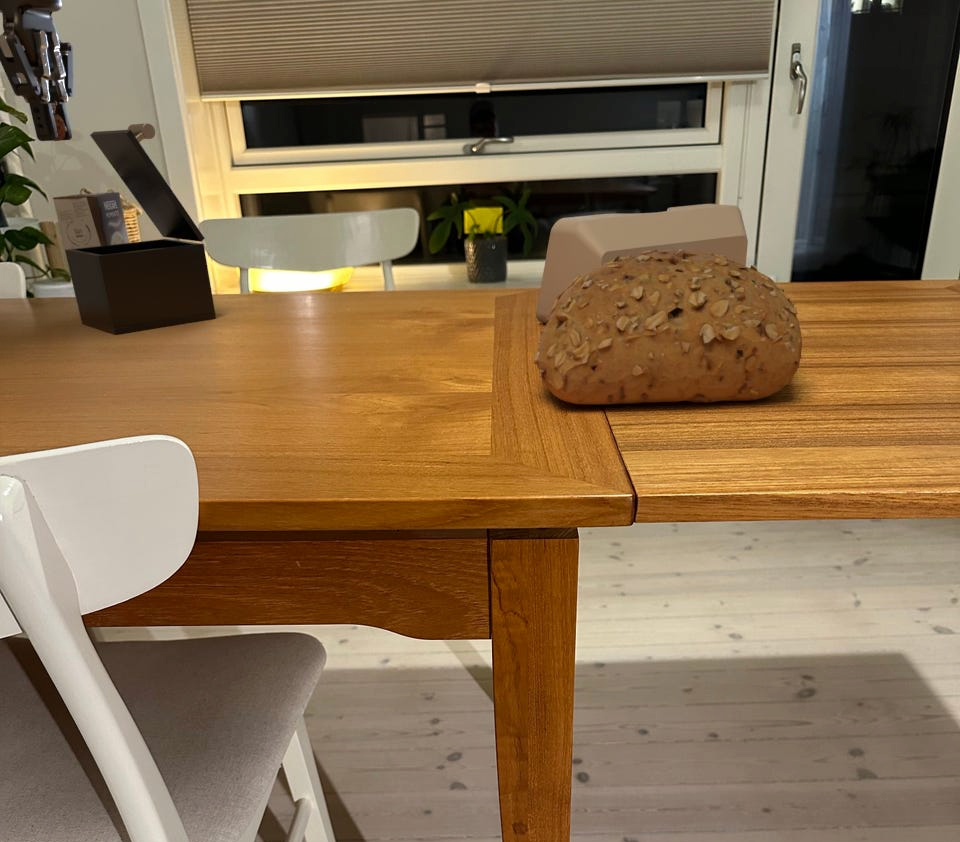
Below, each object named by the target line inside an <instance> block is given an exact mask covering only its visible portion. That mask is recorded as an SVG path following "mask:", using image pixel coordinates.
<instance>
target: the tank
mask: <svg viewBox="0 0 960 842" xmlns="http://www.w3.org/2000/svg"><path fill="white" fill-rule="evenodd" d="M748 240H749V239H748V235H747V231H746V227H745V222H744V219H743V214H742V211H741V209H740V208H739V206H738V205H733V204H719V203H702V204H692V205H682V206H672V207H668V208H667V210H665V211H658V212H644V213H601V214H591V215H580V216H571V217H570V216H569V217H562V218H560V219H558V220H557V221H556V222H554V224H553V226H552V227H551V230H550V234H549V239H548V245H547V250H546V251H547V252H546V255H545V261H544V266H543V272H542V278H541V282H540V288H539V293H538V299H537V305H536V310H535V318H536V320H537V321H538V322H540V323H542V324H546V321H547V318H548V316H549V314H550V312H551V309H552V306H553V303H554V302H555V301H556V300H558V299H557V296H558V295H559V294H560V293H561V292H562V291H563V290H565V289H566V288H567V287H568V286H569V285H570V284H571V283H572V281H573V280H574V279H575V278H576V277H577V276H578V275H580V276H584V275H585V274H586V273H588V272H589V271H591V270H593V269H595V268H596V267H598V266H600V265H603V264H606V263H609V262H610V261H612V260H613V259H615V258H616V257H618V256H619V255H620V256H619V259H620V257H627V256H629V255H632V256H631V257H634V256H639V255H640V254H641V253H642V252H645V251H650V250H657V251H660V250H673V249H675V250H677V249H682V250H685V249H689V250H697V251H701V252H705V253H708V254H712V253H713V252H714V253H716V254H718V255H720V256H721V255H722V256H725V257H727V259H728V260H734V262H736V263H740V264H742V265H743V266H746V267H747V257H748V256H747V255H748V247H749V246H748V244H749V241H748ZM619 259H618V260H619Z"/></svg>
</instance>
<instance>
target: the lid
mask: <svg viewBox="0 0 960 842" xmlns="http://www.w3.org/2000/svg"><path fill="white" fill-rule="evenodd" d="M89 136H90V137H91V139H92V140H93V142H94V143H95V144H96V146H97V148H98V149H99V150H100V152H101V153H102V154H103V156H104V157H105V158H106V160H107V161H108V162H109V164H110V165H111V166H112V168H113V170H114V171H115V172H116V173H117V175H118V176H119V178H120V179H121V180H122V182H123V184H125V186H126V188H127V189H128V191H129V192H130V193H131V195H132V196H133V198H135V200H136V202H137V203H138V204H139V205H140V207H141V208H142V210H143V211H144V213H145V214H146V215H147V217H148V218H149V219H150V221H151V223H153V225H154V227H155V228H156V229H157V230H158V232H159V233H160V235H161V236H162V237H163V238H167V239H175V240H183V241H190V242H198V243H201V242H203V241H204V240H205V238H206V237H205V236H204V234H203V233H202V232H201V230H200V229H199V228H198V226H197V224H195V222H194V220H193V218H192V217H191V216H190V214H189V212H187V210H186V209H185V207H184V206H183V204H182V202H181V201H180V199H179V198H178V197H177V196H176V194H175V192H174V191H173V189H172V188H171V186H170V184H168V182H167V181H166V179H165V178H164V176H163V175H162V173H161V172H160V171H159V169H158V168H157V166H156V165H155V163H154V162H153V160H152V158H151V157H150V156H149V154H148V153H147V152H146V150H145V149H144V147H143V146H142V144H141V142H142V141H144V140H152V139H154V138H155V136H156V128H155V127H154V126H153V124H151V123H147V122H146V123H135V124H130V125H129V126H128V127H127V129H117V130H102V131H101V130H100V131H93V132H92V133H90V134H89Z"/></svg>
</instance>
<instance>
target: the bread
mask: <svg viewBox="0 0 960 842" xmlns="http://www.w3.org/2000/svg"><path fill="white" fill-rule="evenodd" d="M619 256H620V255H619ZM619 256H618V257H616V258H615V259H613V260H612V261H610V262H609V263H606V264H603V265H600V266H598V267H596V268H595V269H593V270H591V271H589V272H588V273H586V274H585V275H584V276H580V275H578V276H577V277H576V278H575V279H574V280H573V281H572V283H571V284H570V285H569V286H568V287H567V288H566V289H565V290H563V291H562V292H561V293H560V294H559V295H558V296H557V299H558V300H556V301H555V302H554V303H553V306H552V309H551V312H550V314H549V316H548V318H547V321H546V323H545V325H544V328H542V329H541V332H540V333H539V334H540V335H539V339H538V341H539V342H537V349H536V352H535V356H534V358H533V359H534V360H533V362H532V365H536V366H537V369H538V374H539V378H540V379H541V381H542V383H543V385H545V387H546V388H547V389H548V391H549V392H550V393H551V394H552V395H553V396H555V397H556V398H557V399H559V400H560V401H561V400H562V401H564V402H566V403H570V404H574V405H590V406H593V405H596V406H597V405H621V404H643V403H679V402H691V403H706V404H707V403H714V402H738V401H739V402H746V401H748V402H749V401H750V402H751V401H758V400H761V399H764V398H767V397H769V396H771V395H774V394H776V393H777V392H780V391H781V390H782V389H783V388H784V387H786V386H787V385H788V384H789V383H790V382H791V381H792V379H793V377H794V376H795V375H796V373H797V371H798V369H799V367H800V363H801V360H803V357H802V349H803V339H802V330H801V326H800V321H799V319H798V316H797V315H798V314H799V313H798V310H797V308H796V307H795V303H793V301H791V297H790V296H788V295H787V293H785V289H783V288H782V287H781V288H780V287H779V286H777V284H776V283H775V281H774V279H772V278H771V277H770V276H768V275H766V274H764V273H762V272H760V271H759V270H758V268H757V266H756V265H752V264H751V265H750V267H748V266H747V265H746V266H743V265H742V264H740V263H736V262H734V260H728V259H727V257H725V256H722V255H721V256H720V255H718V254H716V253H714V252H713V253H712V254H708V253H705V252H701V251H697V250H689V249H685V250H682V249H677V250H675V249H673V250H660V251H657V250H650V251H645V252H642V253H641V254H640V255H639V256H634V257H631V256H632V255H629V256H627V257H620V259H619ZM618 259H619V260H618Z"/></svg>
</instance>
